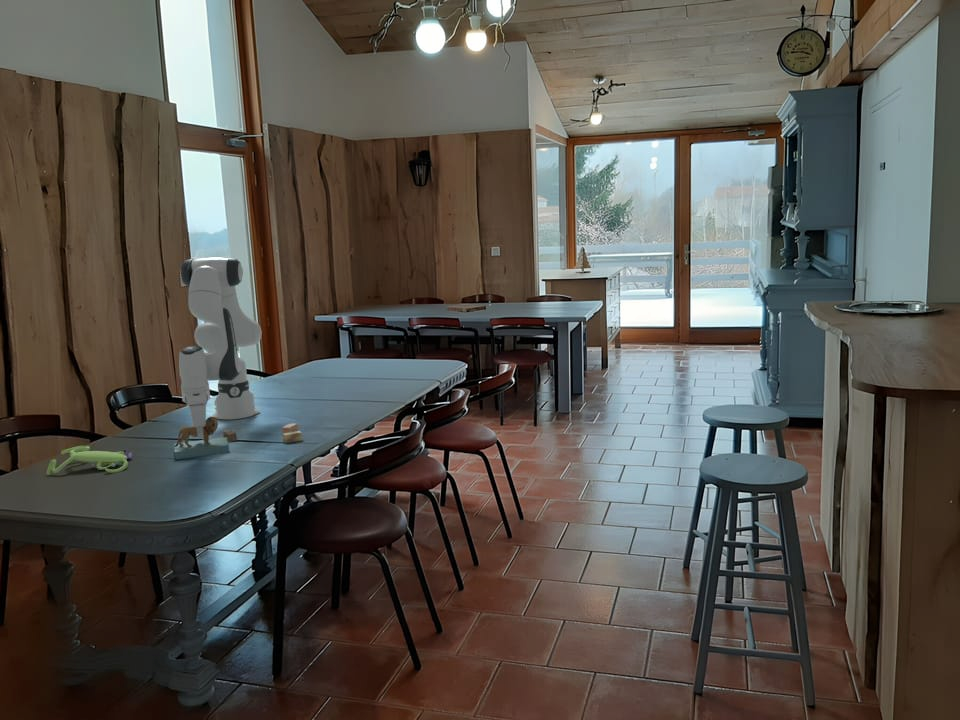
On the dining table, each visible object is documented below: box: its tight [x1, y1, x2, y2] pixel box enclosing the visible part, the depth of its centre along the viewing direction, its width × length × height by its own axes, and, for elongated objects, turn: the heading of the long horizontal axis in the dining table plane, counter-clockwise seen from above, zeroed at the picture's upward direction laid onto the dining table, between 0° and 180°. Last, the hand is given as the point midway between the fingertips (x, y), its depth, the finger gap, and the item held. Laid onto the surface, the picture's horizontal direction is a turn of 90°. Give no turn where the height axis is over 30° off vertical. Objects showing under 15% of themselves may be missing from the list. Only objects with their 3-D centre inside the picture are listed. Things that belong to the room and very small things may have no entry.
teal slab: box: [174, 437, 230, 460], centre depth 266 cm, size 12×17×2 cm
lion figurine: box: [174, 416, 219, 448], centre depth 265 cm, size 15×5×9 cm, turn 118°
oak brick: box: [282, 430, 303, 444], centre depth 275 cm, size 6×3×3 cm, turn 121°
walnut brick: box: [222, 429, 238, 443], centre depth 281 cm, size 6×3×3 cm, turn 35°
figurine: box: [46, 445, 134, 476], centre depth 255 cm, size 18×27×6 cm
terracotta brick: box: [281, 423, 299, 435], centre depth 286 cm, size 6×3×3 cm, turn 163°
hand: (200, 434), depth 266 cm, fingers open, 8 cm apart
